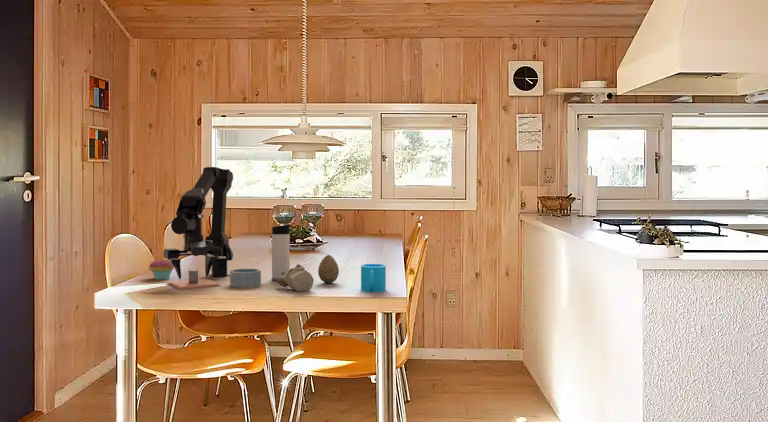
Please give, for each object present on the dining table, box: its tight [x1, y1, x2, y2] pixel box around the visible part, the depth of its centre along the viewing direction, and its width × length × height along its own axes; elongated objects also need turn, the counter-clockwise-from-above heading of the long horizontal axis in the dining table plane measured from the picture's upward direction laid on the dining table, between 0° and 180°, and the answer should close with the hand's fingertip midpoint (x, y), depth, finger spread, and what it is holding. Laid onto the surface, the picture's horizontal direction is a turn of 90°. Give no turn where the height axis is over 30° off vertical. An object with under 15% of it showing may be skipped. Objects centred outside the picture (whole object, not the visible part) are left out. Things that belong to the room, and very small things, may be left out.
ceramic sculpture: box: [276, 264, 315, 293], centre depth 234 cm, size 11×9×15 cm
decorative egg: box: [317, 254, 340, 284], centre depth 247 cm, size 7×7×10 cm
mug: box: [360, 263, 387, 293], centre depth 232 cm, size 12×8×8 cm
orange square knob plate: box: [168, 269, 220, 290], centre depth 239 cm, size 13×13×5 cm
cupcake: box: [148, 247, 175, 280], centre depth 253 cm, size 9×8×12 cm
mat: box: [165, 282, 222, 291], centre depth 239 cm, size 15×15×1 cm
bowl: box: [229, 268, 262, 289], centre depth 240 cm, size 10×10×5 cm
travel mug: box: [271, 224, 291, 282], centre depth 253 cm, size 6×7×20 cm
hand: (193, 277), depth 239 cm, fingers open, 9 cm apart
